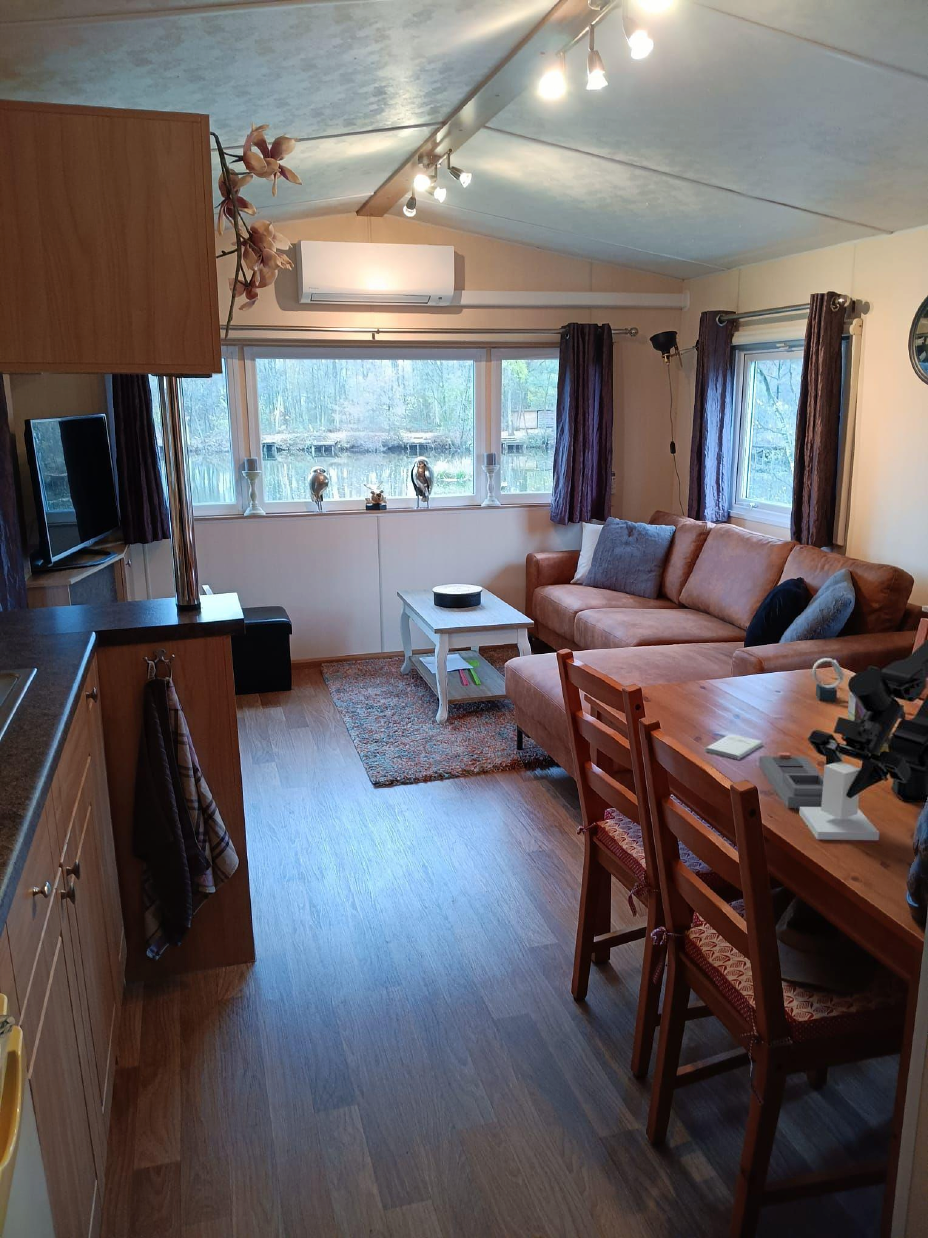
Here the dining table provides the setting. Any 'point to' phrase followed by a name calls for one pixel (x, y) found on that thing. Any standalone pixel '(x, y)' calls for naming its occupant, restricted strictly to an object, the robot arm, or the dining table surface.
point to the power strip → (793, 779)
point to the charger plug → (839, 790)
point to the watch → (827, 690)
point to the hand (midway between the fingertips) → (836, 792)
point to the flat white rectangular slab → (838, 825)
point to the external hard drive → (734, 746)
